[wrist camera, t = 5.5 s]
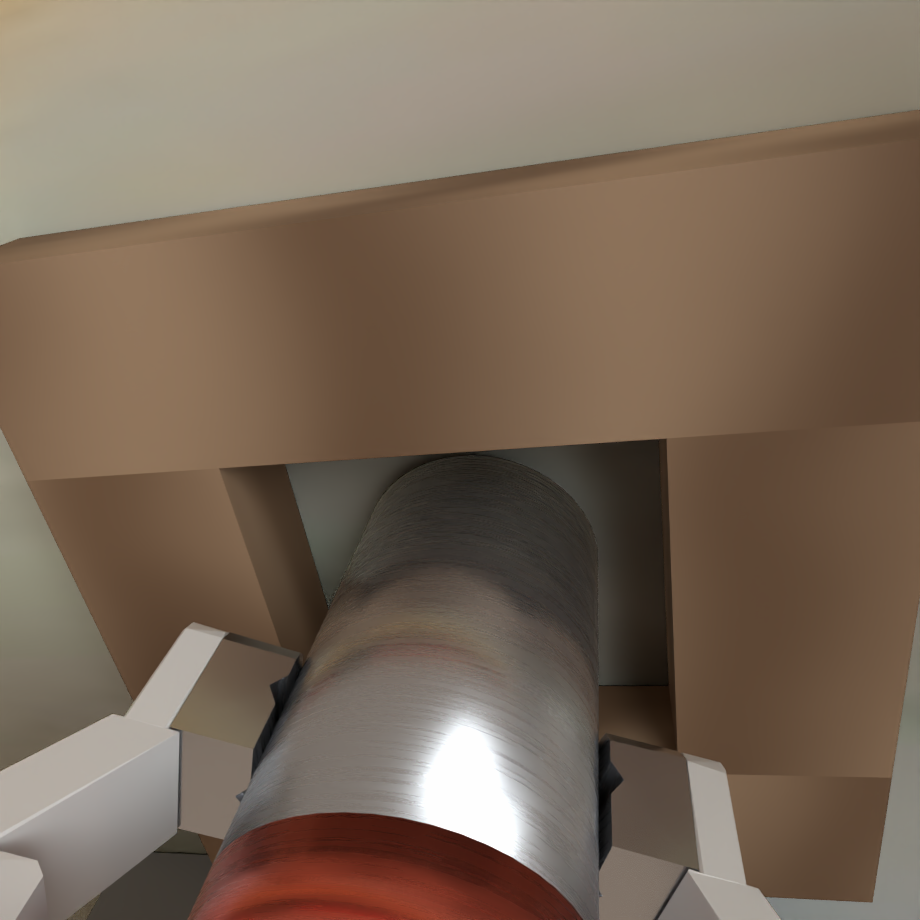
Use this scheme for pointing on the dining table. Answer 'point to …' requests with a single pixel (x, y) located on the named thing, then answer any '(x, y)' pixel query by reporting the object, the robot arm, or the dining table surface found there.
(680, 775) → the robot arm
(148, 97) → the dining table surface
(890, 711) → the socket block
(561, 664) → the red and grey cylinder
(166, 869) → the bin
